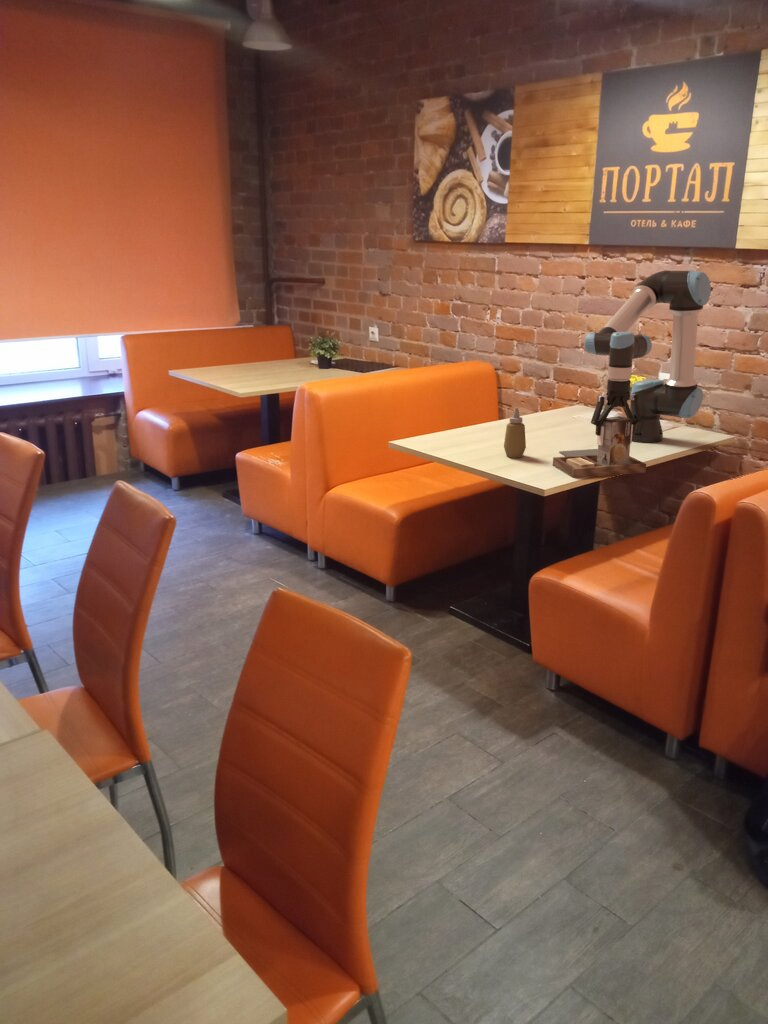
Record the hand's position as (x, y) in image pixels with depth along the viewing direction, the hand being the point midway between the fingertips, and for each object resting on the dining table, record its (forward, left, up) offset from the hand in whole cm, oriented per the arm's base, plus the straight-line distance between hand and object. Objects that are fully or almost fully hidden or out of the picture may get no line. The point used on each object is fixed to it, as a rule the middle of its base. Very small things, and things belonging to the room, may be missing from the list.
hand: (614, 443), depth 283 cm
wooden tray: (+5, 0, -9) cm, 10 cm away
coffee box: (0, 0, -8) cm, 8 cm away
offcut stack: (+12, 0, -9) cm, 15 cm away
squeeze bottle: (+27, -24, -9) cm, 37 cm away
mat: (0, -18, -9) cm, 20 cm away
